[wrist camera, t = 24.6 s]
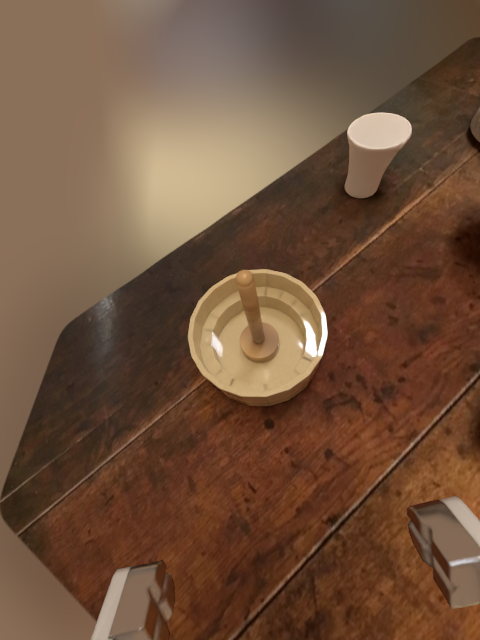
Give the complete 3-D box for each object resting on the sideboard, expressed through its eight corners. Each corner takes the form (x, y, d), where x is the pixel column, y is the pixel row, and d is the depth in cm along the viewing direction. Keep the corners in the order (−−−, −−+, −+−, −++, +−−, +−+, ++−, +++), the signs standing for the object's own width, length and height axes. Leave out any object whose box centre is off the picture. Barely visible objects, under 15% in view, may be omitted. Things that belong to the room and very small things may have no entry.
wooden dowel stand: (264, 370, 35) (249, 312, 20) (234, 349, 37) (200, 281, 22) (286, 340, 36) (287, 265, 22) (256, 321, 38) (238, 240, 24)
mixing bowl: (274, 434, 32) (271, 430, 26) (181, 359, 38) (161, 341, 32) (342, 333, 36) (354, 309, 30) (249, 280, 42) (243, 251, 36)
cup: (357, 213, 45) (375, 155, 36) (326, 184, 49) (335, 125, 41) (402, 192, 46) (430, 129, 37) (367, 164, 50) (384, 103, 41)
